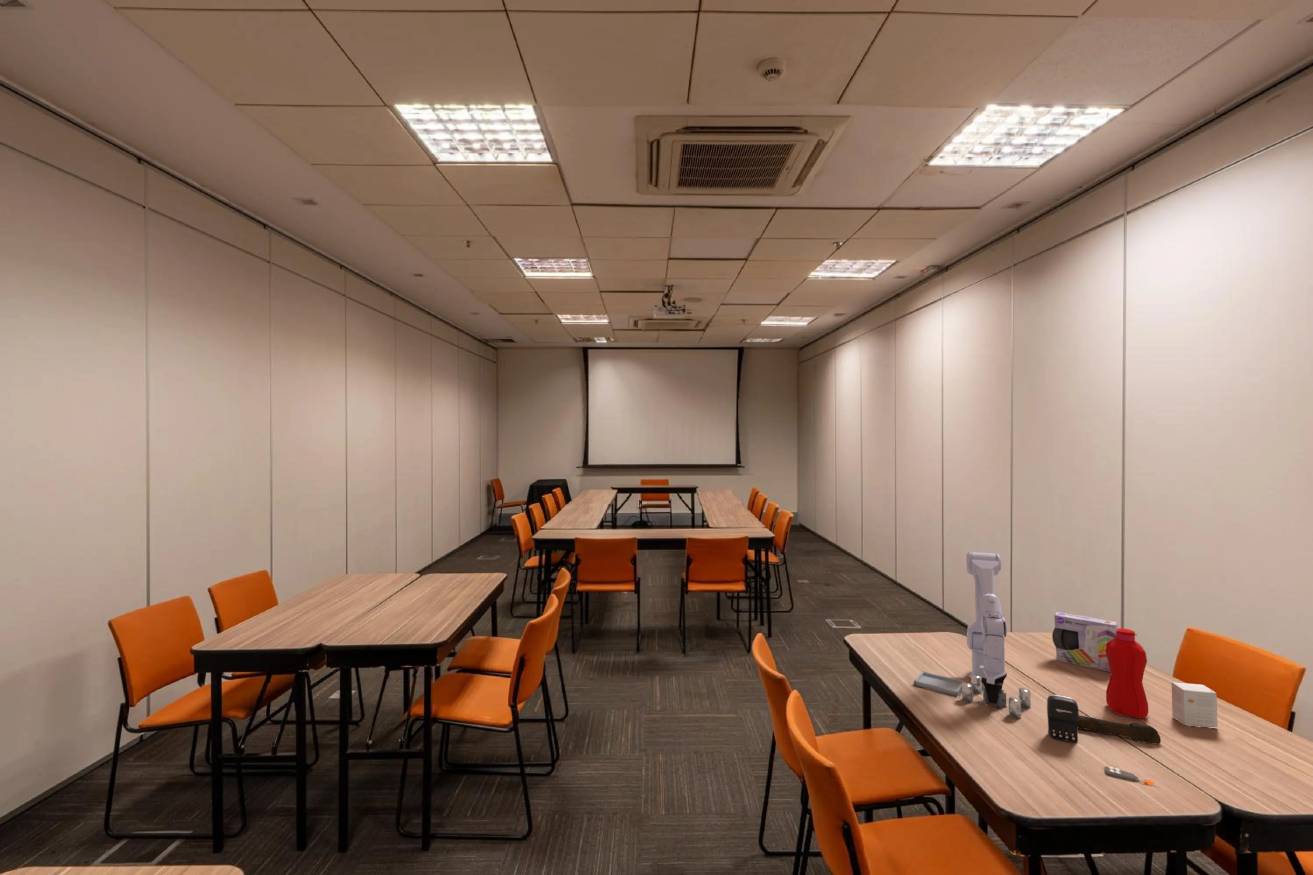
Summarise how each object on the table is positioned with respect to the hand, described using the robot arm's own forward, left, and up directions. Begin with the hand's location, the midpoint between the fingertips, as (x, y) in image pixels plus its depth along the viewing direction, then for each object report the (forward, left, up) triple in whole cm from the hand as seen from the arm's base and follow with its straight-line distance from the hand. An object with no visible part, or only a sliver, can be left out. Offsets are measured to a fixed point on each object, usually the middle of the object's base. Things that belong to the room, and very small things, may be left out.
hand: (994, 698), depth 171 cm
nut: (0, 0, -1) cm, 1 cm away
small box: (-23, +47, -2) cm, 52 cm away
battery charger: (+12, +18, -2) cm, 22 cm away
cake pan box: (-55, +21, -2) cm, 59 cm away
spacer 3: (+5, +6, -1) cm, 8 cm away
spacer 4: (-4, +7, -1) cm, 9 cm away
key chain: (+23, +33, -2) cm, 41 cm away
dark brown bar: (0, +29, -2) cm, 29 cm away
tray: (-3, -17, -1) cm, 17 cm away
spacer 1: (+3, -7, -1) cm, 8 cm away
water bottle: (-19, +31, -2) cm, 36 cm away
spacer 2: (-6, -6, -1) cm, 9 cm away
